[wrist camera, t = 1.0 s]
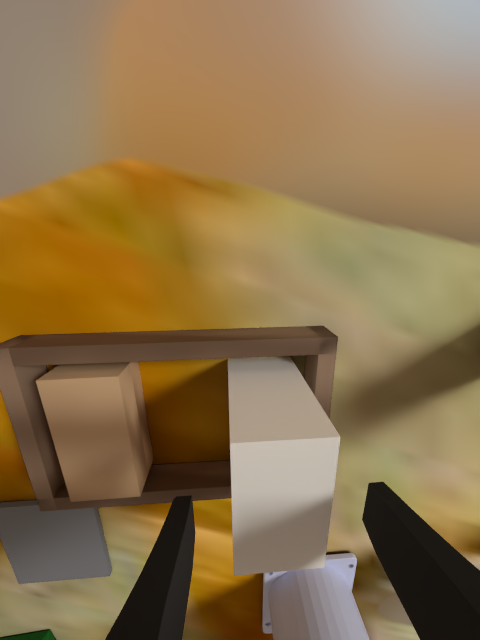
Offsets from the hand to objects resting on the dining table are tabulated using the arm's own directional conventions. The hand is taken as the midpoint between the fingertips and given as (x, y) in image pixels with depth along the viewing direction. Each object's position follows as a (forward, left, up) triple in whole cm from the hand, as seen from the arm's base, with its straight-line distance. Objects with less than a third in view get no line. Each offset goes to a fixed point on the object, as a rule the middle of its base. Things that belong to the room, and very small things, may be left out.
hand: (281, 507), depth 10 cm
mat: (-11, +15, -7) cm, 20 cm away
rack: (0, +4, -7) cm, 8 cm away
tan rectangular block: (0, +9, -7) cm, 12 cm away
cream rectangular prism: (0, 0, -7) cm, 7 cm away
